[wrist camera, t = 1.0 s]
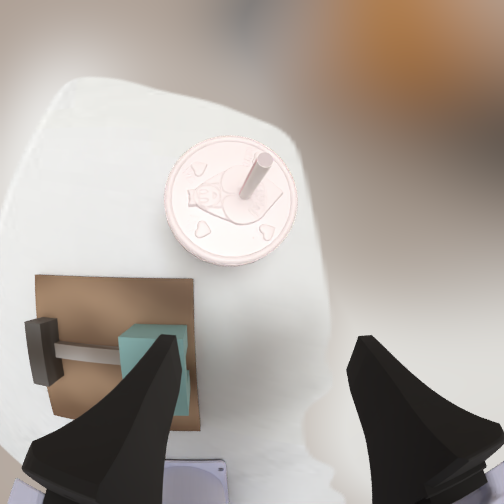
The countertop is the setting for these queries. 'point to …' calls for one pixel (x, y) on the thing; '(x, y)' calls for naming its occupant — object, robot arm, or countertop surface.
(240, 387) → the countertop surface
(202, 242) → the smoothie
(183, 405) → the block
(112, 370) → the rail board
